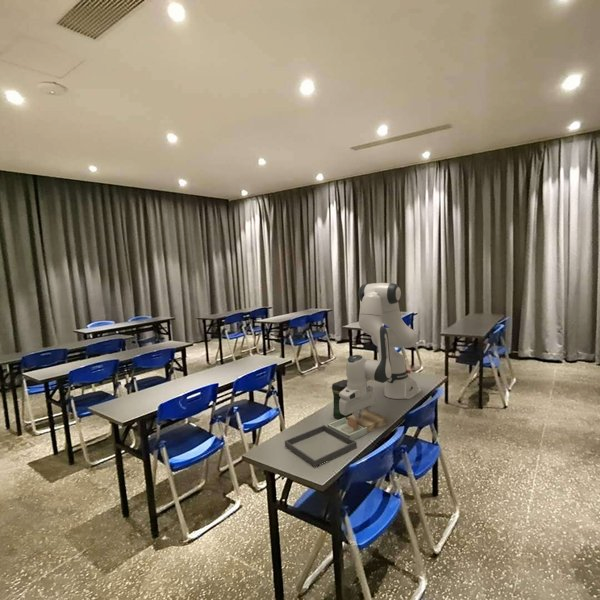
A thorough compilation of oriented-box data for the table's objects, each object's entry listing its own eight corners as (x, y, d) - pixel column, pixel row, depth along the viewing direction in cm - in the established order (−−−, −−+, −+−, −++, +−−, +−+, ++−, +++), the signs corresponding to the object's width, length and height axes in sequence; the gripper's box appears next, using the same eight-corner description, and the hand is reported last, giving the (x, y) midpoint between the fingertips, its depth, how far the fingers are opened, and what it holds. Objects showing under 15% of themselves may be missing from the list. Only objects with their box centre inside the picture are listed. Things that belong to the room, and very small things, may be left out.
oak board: (365, 415, 184) (365, 409, 183) (386, 423, 172) (386, 417, 172) (346, 423, 176) (346, 417, 176) (367, 432, 165) (366, 426, 165)
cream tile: (341, 427, 167) (341, 431, 167) (347, 430, 164) (347, 434, 164) (347, 424, 170) (347, 428, 170) (353, 427, 166) (353, 431, 166)
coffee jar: (342, 421, 178) (340, 385, 176) (331, 417, 184) (328, 382, 182) (355, 415, 185) (353, 380, 183) (343, 411, 191) (341, 377, 189)
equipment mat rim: (324, 429, 171) (324, 424, 171) (356, 447, 153) (356, 441, 153) (285, 446, 159) (284, 440, 159) (315, 467, 141) (314, 461, 140)
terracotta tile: (350, 418, 171) (347, 419, 170) (356, 421, 168) (353, 422, 167) (350, 426, 171) (347, 428, 170) (356, 429, 168) (353, 430, 167)
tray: (345, 423, 177) (344, 417, 176) (367, 433, 164) (367, 427, 164) (328, 430, 170) (327, 424, 170) (349, 442, 158) (349, 435, 158)
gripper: (367, 383, 178) (369, 410, 179) (336, 394, 167) (338, 422, 168) (377, 386, 173) (378, 413, 174) (345, 397, 161) (347, 427, 163)
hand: (358, 418), depth 171 cm, fingers closed
